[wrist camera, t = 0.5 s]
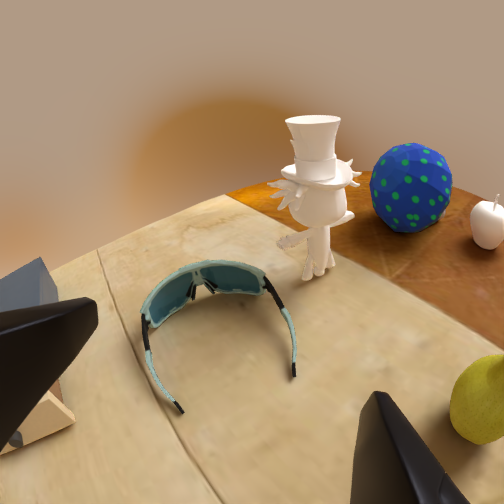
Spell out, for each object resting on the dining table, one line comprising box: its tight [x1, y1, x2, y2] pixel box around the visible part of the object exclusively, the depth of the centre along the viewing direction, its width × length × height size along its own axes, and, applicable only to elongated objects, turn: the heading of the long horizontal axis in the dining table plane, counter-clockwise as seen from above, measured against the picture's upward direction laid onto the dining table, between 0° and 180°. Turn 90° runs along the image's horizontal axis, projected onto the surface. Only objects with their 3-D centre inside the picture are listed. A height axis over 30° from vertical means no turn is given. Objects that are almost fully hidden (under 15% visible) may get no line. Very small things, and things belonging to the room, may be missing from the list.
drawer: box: [0, 379, 76, 455], centre depth 20 cm, size 16×13×4 cm
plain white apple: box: [470, 194, 504, 250], centre depth 32 cm, size 7×7×8 cm
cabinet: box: [0, 257, 59, 312], centre depth 29 cm, size 16×15×6 cm
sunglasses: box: [140, 260, 297, 414], centre depth 27 cm, size 14×15×5 cm
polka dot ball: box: [369, 143, 452, 233], centre depth 38 cm, size 14×14×15 cm
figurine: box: [267, 115, 362, 281], centre depth 30 cm, size 10×8×18 cm
